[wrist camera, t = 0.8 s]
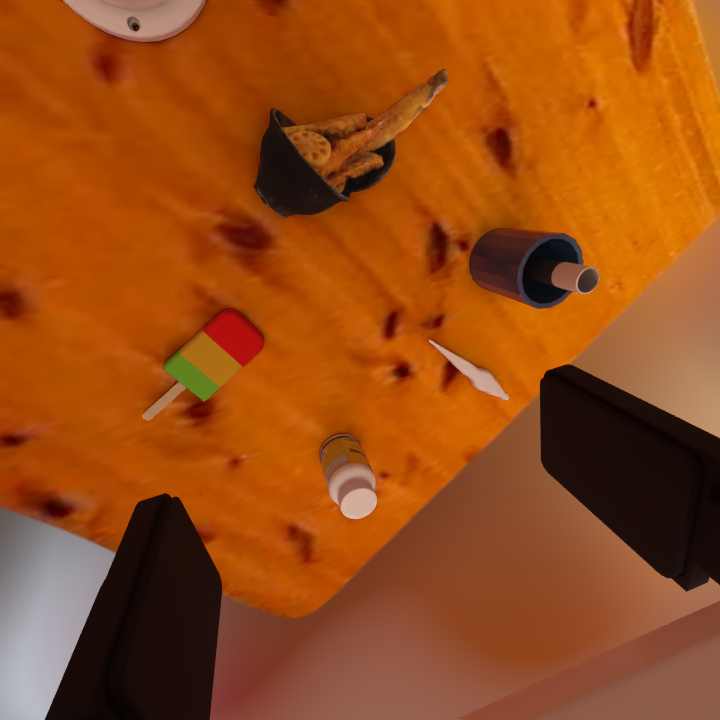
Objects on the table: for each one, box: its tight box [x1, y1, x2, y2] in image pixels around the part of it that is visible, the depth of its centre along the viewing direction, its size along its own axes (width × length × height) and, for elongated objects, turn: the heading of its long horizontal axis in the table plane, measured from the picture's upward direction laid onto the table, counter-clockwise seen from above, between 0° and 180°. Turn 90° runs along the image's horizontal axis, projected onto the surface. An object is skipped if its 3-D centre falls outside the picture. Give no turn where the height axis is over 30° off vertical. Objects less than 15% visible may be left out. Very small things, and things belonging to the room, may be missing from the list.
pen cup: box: [470, 228, 583, 309], centre depth 40 cm, size 7×7×9 cm
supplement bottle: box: [320, 434, 377, 519], centre depth 44 cm, size 5×5×10 cm
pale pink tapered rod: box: [429, 340, 509, 401], centre depth 48 cm, size 15×3×2 cm, turn 52°
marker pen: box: [522, 256, 599, 294], centre depth 38 cm, size 2×2×13 cm
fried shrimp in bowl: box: [254, 69, 448, 218], centre depth 32 cm, size 9×11×18 cm
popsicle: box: [142, 309, 264, 421], centre depth 39 cm, size 6×15×2 cm, turn 129°
